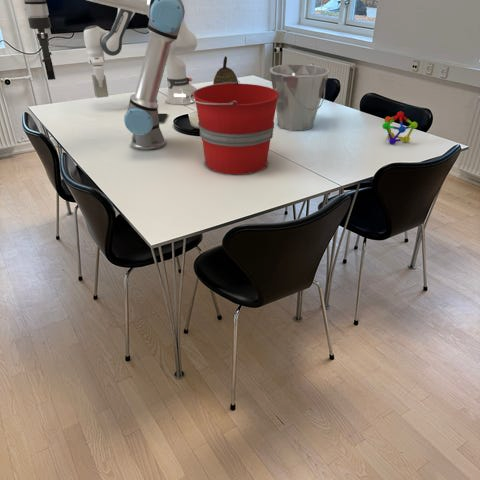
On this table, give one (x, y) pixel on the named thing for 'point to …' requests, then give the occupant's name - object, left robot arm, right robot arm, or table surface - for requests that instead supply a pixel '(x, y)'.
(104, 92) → the brick
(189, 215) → the table surface
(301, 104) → the bucket
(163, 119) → the smartphone
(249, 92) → the bucket
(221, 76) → the bell
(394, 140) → the educational toy
